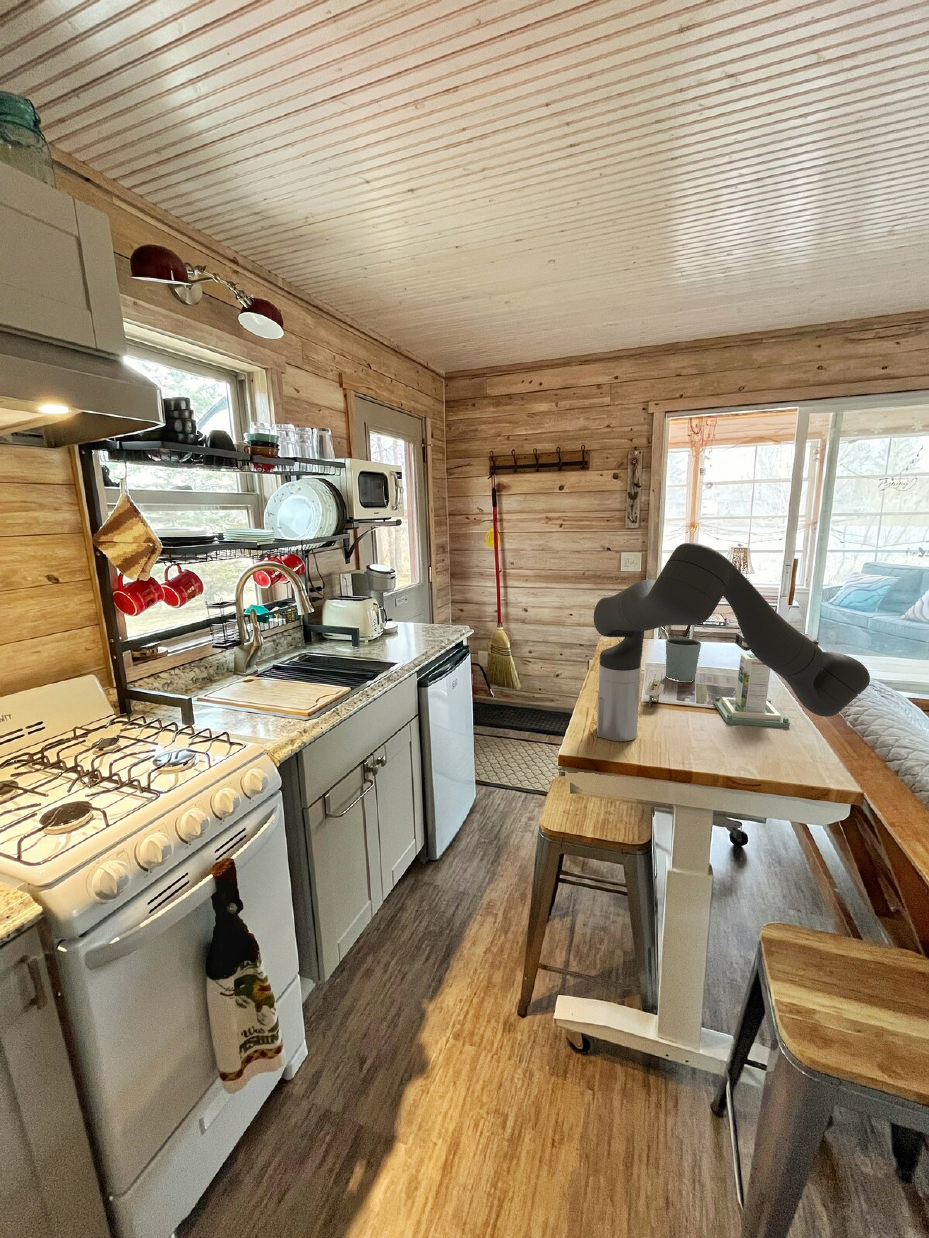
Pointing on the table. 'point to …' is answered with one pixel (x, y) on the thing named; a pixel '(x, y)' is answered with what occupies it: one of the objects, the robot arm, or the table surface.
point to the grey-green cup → (682, 658)
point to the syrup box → (752, 684)
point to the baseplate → (750, 714)
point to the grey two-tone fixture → (653, 693)
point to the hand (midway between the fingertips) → (764, 633)
